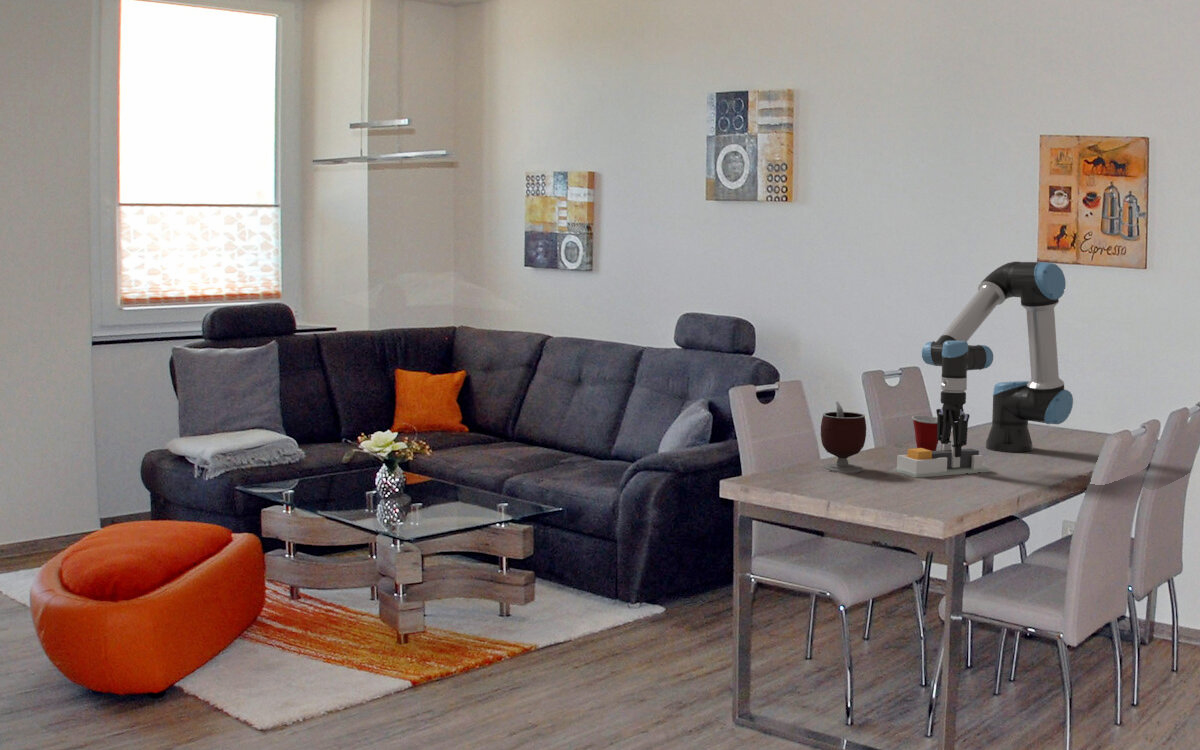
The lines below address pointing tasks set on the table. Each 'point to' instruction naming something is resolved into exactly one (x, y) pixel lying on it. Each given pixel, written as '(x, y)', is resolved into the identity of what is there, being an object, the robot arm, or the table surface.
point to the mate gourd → (843, 438)
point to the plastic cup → (926, 432)
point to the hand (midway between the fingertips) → (950, 465)
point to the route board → (935, 466)
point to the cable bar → (943, 455)
